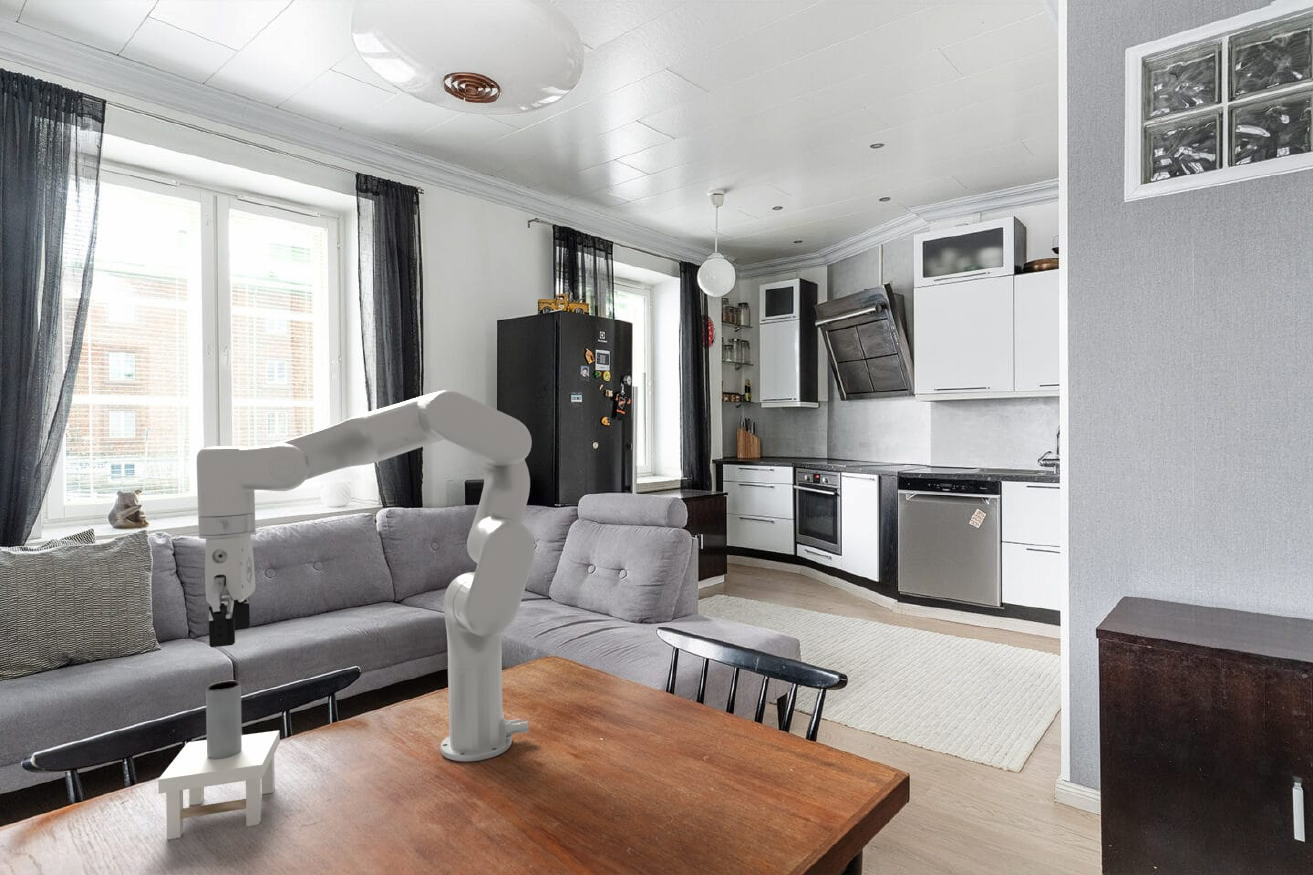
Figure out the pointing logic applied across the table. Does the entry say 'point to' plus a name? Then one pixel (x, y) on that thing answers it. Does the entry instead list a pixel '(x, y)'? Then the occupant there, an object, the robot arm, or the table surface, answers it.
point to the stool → (219, 779)
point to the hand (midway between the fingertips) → (230, 636)
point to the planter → (223, 719)
